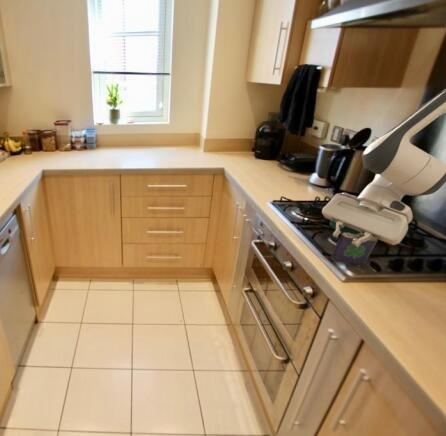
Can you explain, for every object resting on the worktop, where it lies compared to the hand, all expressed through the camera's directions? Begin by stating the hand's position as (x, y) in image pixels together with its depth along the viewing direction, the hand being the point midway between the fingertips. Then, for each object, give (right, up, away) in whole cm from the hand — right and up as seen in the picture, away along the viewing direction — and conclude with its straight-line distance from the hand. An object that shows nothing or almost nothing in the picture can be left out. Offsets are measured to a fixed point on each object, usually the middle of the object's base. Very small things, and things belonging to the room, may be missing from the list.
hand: (344, 240), depth 90 cm
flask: (+4, -6, +4) cm, 9 cm away
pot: (+20, +3, +24) cm, 31 cm away
